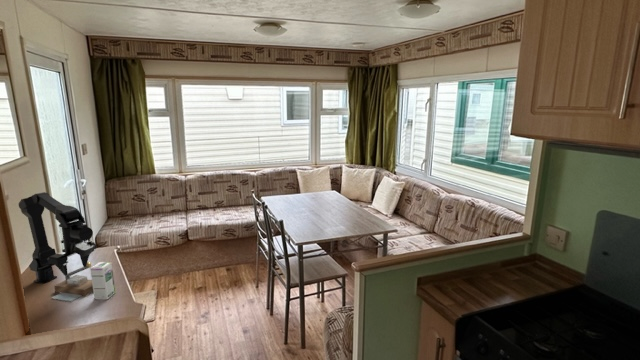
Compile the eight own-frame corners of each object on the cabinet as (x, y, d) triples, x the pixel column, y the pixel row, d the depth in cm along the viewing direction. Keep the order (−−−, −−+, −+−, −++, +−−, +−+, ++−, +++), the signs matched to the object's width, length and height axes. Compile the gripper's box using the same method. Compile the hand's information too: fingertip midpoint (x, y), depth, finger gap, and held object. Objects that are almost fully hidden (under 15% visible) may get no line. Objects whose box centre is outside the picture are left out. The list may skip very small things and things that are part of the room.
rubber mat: (51, 298, 146) (51, 297, 146) (62, 293, 151) (62, 292, 151) (70, 301, 144) (70, 300, 144) (81, 295, 149) (81, 295, 149)
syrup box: (107, 299, 146) (103, 267, 143) (93, 299, 146) (89, 267, 143) (115, 293, 151) (112, 261, 149) (102, 292, 151) (98, 261, 149)
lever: (67, 282, 153) (66, 273, 152) (64, 282, 154) (63, 272, 153) (93, 271, 164) (91, 262, 163) (89, 271, 165) (88, 261, 164)
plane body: (55, 291, 152) (54, 285, 151) (71, 283, 160) (70, 277, 159) (85, 296, 148) (84, 289, 148) (100, 287, 156) (100, 281, 155)
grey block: (67, 284, 152) (66, 279, 151) (76, 280, 156) (75, 275, 156) (78, 286, 151) (77, 281, 150) (87, 281, 155) (86, 276, 154)
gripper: (66, 246, 139) (71, 283, 142) (104, 231, 157) (108, 264, 160) (44, 244, 141) (49, 279, 144) (84, 229, 159) (88, 261, 162)
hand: (75, 271), depth 152 cm, fingers open, 9 cm apart
